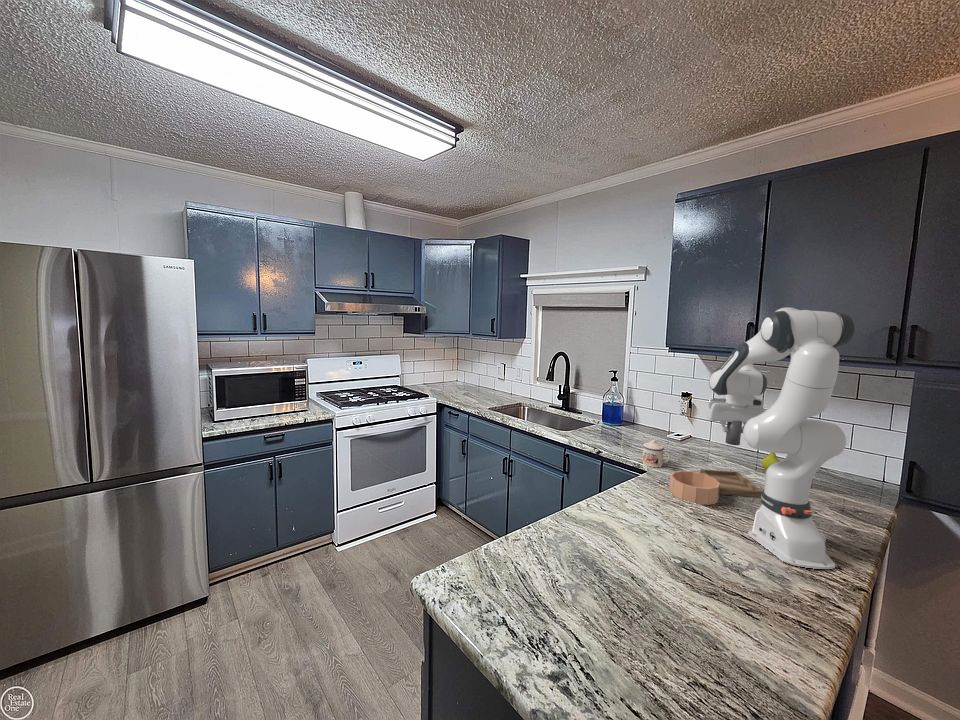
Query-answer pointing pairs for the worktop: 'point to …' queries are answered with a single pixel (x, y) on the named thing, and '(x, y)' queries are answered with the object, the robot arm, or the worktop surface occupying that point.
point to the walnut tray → (733, 483)
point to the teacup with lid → (653, 454)
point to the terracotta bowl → (694, 487)
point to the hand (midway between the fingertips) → (733, 432)
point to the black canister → (734, 432)
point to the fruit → (769, 460)
